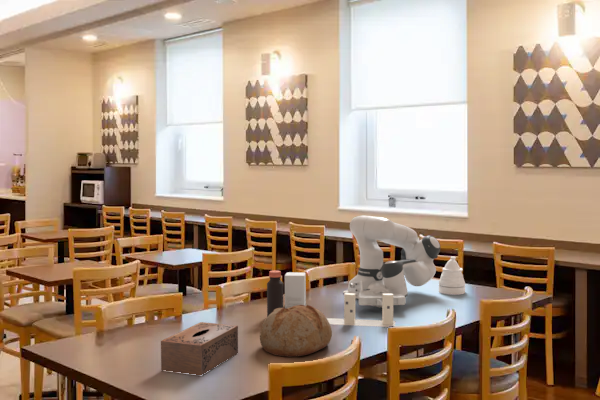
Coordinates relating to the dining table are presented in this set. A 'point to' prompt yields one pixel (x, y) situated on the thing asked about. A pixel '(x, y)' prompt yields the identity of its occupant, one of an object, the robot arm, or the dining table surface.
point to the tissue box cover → (199, 348)
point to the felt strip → (359, 322)
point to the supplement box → (295, 289)
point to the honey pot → (452, 279)
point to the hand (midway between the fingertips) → (384, 303)
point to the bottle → (274, 292)
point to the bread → (295, 331)
